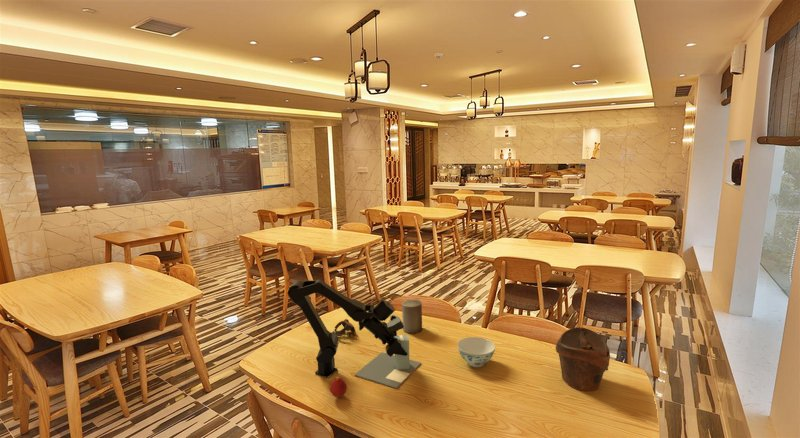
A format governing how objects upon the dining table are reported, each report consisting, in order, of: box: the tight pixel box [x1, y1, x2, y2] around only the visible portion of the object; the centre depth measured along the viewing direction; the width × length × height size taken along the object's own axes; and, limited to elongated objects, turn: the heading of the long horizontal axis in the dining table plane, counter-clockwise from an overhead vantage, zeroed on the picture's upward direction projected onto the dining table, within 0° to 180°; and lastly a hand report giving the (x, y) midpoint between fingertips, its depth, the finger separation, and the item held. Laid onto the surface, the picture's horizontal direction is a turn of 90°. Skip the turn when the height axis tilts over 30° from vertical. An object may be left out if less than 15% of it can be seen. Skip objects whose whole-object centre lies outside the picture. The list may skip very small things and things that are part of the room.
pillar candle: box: [401, 298, 423, 334], centre depth 194 cm, size 10×10×15 cm
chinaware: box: [457, 336, 496, 368], centre depth 162 cm, size 15×15×8 cm
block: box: [394, 334, 410, 370], centre depth 159 cm, size 5×5×12 cm
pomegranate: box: [329, 376, 348, 399], centre depth 140 cm, size 6×6×8 cm
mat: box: [354, 351, 422, 390], centre depth 159 cm, size 20×19×1 cm
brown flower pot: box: [555, 327, 611, 392], centre depth 146 cm, size 18×20×18 cm
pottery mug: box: [333, 318, 357, 337], centre depth 190 cm, size 12×9×8 cm
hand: (405, 351), depth 159 cm, fingers open, 6 cm apart
